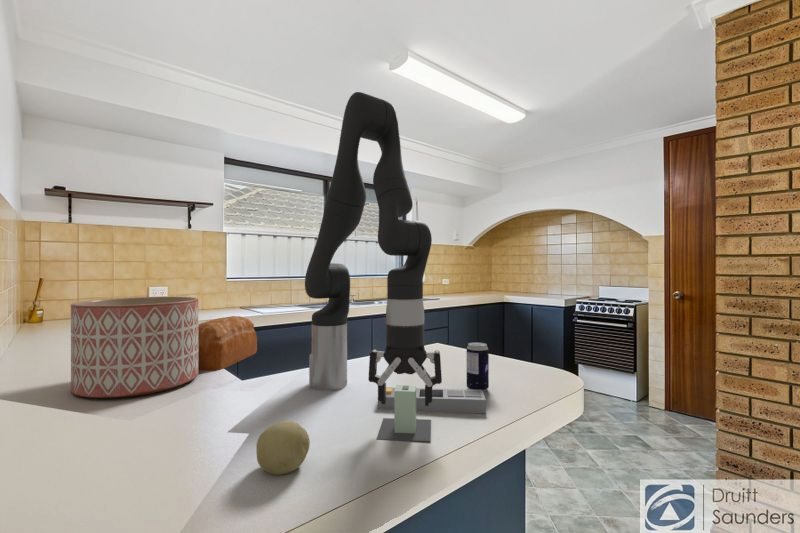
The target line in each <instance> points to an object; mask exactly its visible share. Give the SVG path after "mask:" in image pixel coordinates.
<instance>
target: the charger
mask: <svg viewBox="0 0 800 533" xmlns="http://www.w3.org/2000/svg"><path fill="white" fill-rule="evenodd" d="M394 388H395V391H394V409H393V410H394V415H393V416H394V419H395V433H415V432H416V419H417V410H416V388H417V385H416V384H396V385H395V387H394Z"/></svg>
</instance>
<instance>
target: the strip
mask: <svg viewBox="0 0 800 533" xmlns="http://www.w3.org/2000/svg"><path fill="white" fill-rule="evenodd" d="M395 388H396V387H390V386H389V387H387V386H386V403H385V404H381V401H379V400H378V399H377V409H384V410H385V409H386V410H387V409H388V410H390V409H391V410H394V391H395ZM416 411H422V412H423V411H426V412H442V413H443V412H444V413H460V414H461V413H462V414H464V413H465V414H487V398H486V397H485V394H484V392H483V391H482V390H471V389H469V388H467V389H464V388H463V389H462V388H461V389H460V388H432V402H431V403H429V406H425V387H424V388H422V387H416Z"/></svg>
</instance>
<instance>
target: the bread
mask: <svg viewBox="0 0 800 533" xmlns="http://www.w3.org/2000/svg"><path fill="white" fill-rule="evenodd" d="M254 327H255V324H254V323H253V322H252V321H251V320H250V319H249V318H246V317H243V316H240V315H231V316H225V317H220V318H219V317H218V318H215V319H209V320H207V321H204V322H200V323H198V371H212V372H213V371H221V370H224V369H226V368H228V367H230V366H233V365H235V364H236V363H239V362H241V361H242V360H245V359H247V358H250V357H252V356H253V355H255V354H256V353H257V351H258V335H257V332H256V330H255V328H254Z"/></svg>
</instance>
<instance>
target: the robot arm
mask: <svg viewBox="0 0 800 533" xmlns="http://www.w3.org/2000/svg"><path fill="white" fill-rule="evenodd" d="M399 129H400V128H399V120H398V115H397V111H396V108H395V106H394V105H393V104H392V103H391V102H389V101H388V100H385V99H383V98H379V97H376V96H373V95H371V94H367V93H365V92H362V91H361V92H360V91H356V92H354V93H352V94H351V96H349V99H348V101H347V102H346V105H345V109H344V112H343V118H342V123H341V130H340V137H339V143H338V149H337V154H336V155H337V156H336V161H335V164H334V170H333V174H332V176H331V182H330V185H329V189H328V193H327V195H326V196H327V197H326V201H325V204H324V209H323V215H322V218H321V223H320V227H319V231H318V235H317V239H316V243H315V245H314V248H313V252H312V254H311V257H310V260H309V263H308V266H307V270H306V271H305V272H306V273H305V277H304V290H305V293H306V295H307V296H308V297H309V298H312V299H316V300H317V299H321V300H322V299H328V301H327V303H326V305H325V306H323V307H322V308H321V309H319V310H317V311H315V312H313V313H312V315H311V353H309V357H308V358H309V359H308V361H309V362H308V364H309V366H308V367H309V368H308V376H309V380H308V382H309V384H308V386H309V388H310V389H315V390H317V391H321V392H322V391H325V392H326V391H330V392H333V391H338V390H342V389H344V388H346V387H347V386H348V317H349V312H350V296H351V277H350V276H351V275H350V272H349V269H348V267H347V266H346V265H345V264H343V263H332V260H333V258H334V255H335V253H336V251H337V250H338V249H339V247H340V246H341V245H342V244H343V243H344V242H345V241H346V240H347V239H349V237H350V236H351V235H352V234H353V233H354V231H355V230H356V229H357V227H358V226H359V224H360V222H361V219H362V215H363V212H364V209H365V205H366V201H367V191H366V187H365V183H364V179H363V177H362V174H361V170H360V166H359V157H358V155H359V146H360V141H361V139H364V140H368V141H372V142H377V144H378V146H379V148H380V151H381V155H380V158H379V160H378V163H377V164H376V167H375V169H374V173H373V175H372V176H373V177H372V178H373V179H372V181H373V182H372V184H373V185H372V186H373V190H374V194H375V197H376V201H377V206H378V227H377V228H378V230H377V242H378V246H379V248H380V250H382V252H384V254H386V255H388V256H391V257H392V256H396V257H399V256H400V257H401V256H403V257H404V256H406V259H405V260H406V261H405V263H404V264H403V265H402V266H400V267H396V268H393V269H391V270H389V271H388V273H387V275H386V276H387V278H386V280H387V281H386V283H387V285H386V286H387V287H386V289H387V290H386V291H387V292H386V294H387V296H386V297H387V299H386V308H385V351H382V350H377V349H375V348H374V349H372V350H371V351H370V353H369V360H368V362H369V364H368V379H367V380H368V382H370V383H374V384H376V386H377V401H378V400H379V401H381V404H385V403H386V387H387V383H386V382H387V380H388V379H389V378H390V376H391V375H392V374H393V373H395V374H396V375H404V374H407V375H414V374H415V373H416V375H418V377H419V378H420V379H421V380H422V381H423V383H424V388H425V406H429V403H431V402H432V389H433V386H435V385H440V384H442V383H443V382H442V380H443V378H442V377H443V376H442V366H441V365H442V364H441V362H442V361H441V352H440V350H434V351H426V349H425V318H426V317H425V306H424V299H423V298H424V289H423V288H424V282H423V280H424V274H425V272H426V267H427V263H428V259H429V255H430V251H431V247H432V241H433V238H432V233H431V230H430V228H429V226H428V225H427V224H426V223H425V222H423V221H421V220H413V219H412V220H410V219H409V220H408V219H399V218H402V217H405V216H406V215H408V214H409V213H410V212H411V211H412V209H413V207H414V206H413V199H412V195H411V192H410V188H409V184H408V181H407V178H406V174H405V170H404V166H403V165H404V164H403V157H402V148H401V147H402V146H401V137H400V136H401V135H400V130H399ZM382 358H383V359H384V361H385V362H386V363H387V364H388V366H387V367H386V368H385V370H384V371H383V372H382V374H380V375H378V374H377V372H378V371H377V370H378V369H377V368H378V363H379V362H381V359H382ZM427 359H429V362H430V363H431V364H434V376H431V375H430V374H429V372H427V369H426V368H425V367H424V365H423V364H424V363H425V361H426V360H427Z"/></svg>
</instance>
